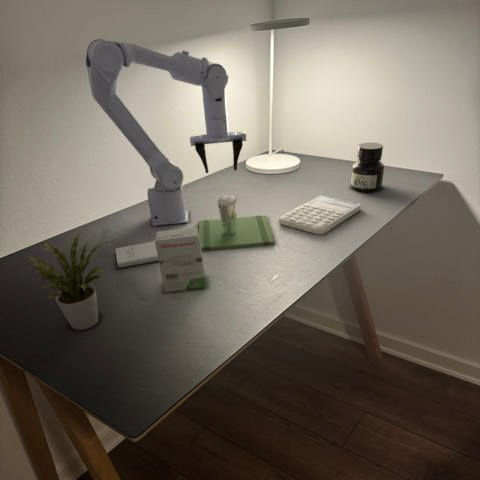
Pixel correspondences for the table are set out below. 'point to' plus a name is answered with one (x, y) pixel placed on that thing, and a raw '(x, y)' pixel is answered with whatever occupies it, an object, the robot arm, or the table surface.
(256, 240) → the towel
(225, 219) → the milkshake
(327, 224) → the calculator
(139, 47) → the robot arm
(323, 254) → the table surface
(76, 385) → the table surface
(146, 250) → the hard drive
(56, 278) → the house plant
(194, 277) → the ink box
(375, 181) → the ink bottle
